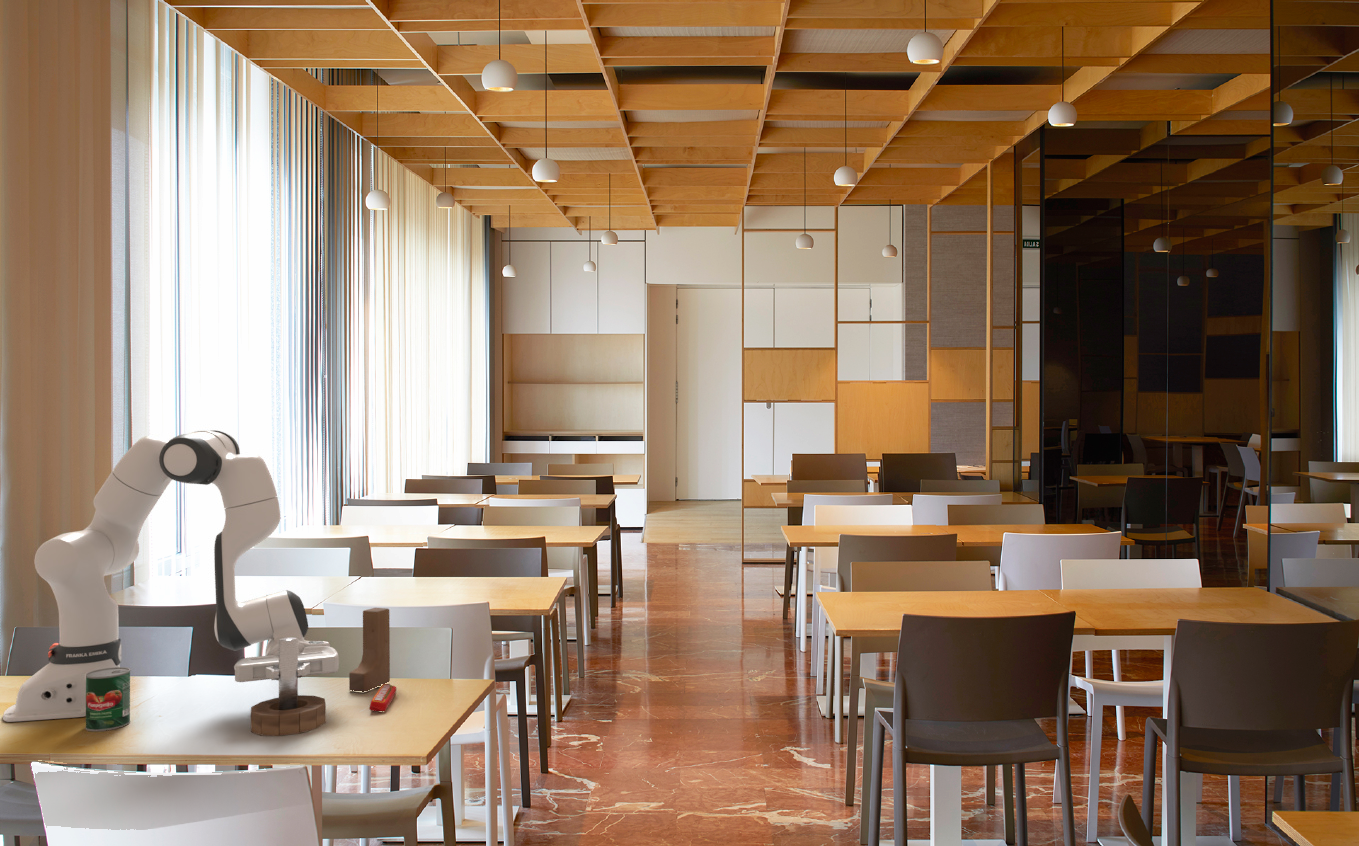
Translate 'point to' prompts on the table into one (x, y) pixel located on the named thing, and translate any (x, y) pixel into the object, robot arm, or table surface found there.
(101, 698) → the canned tomato
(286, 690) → the steel peg
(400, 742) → the table surface
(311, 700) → the walnut ring
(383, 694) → the candy bar
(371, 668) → the wooden block
